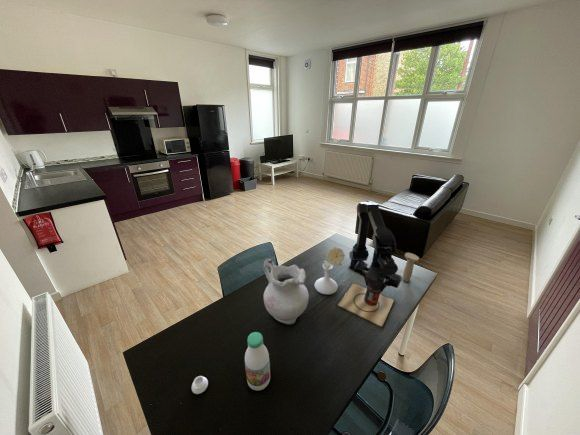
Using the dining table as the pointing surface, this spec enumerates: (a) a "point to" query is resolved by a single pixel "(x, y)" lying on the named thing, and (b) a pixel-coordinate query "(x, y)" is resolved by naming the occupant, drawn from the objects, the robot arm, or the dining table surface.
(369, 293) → the deodorant
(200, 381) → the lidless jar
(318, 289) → the flower in vase
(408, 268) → the handle
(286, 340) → the dining table surface
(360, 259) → the robot arm
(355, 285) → the circle mat
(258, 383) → the milk bottle
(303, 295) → the ceramic pitcher
